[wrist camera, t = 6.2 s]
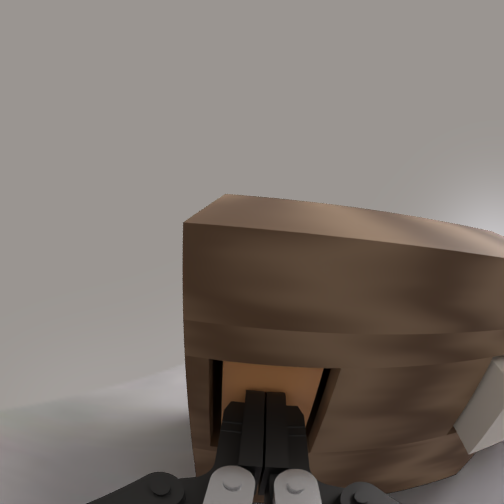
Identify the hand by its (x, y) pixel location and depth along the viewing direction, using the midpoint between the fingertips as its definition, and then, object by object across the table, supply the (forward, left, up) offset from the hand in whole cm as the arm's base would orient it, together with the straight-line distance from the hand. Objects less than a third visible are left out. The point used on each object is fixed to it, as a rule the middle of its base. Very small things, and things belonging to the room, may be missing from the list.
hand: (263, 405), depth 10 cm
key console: (-6, -3, -9) cm, 11 cm away
